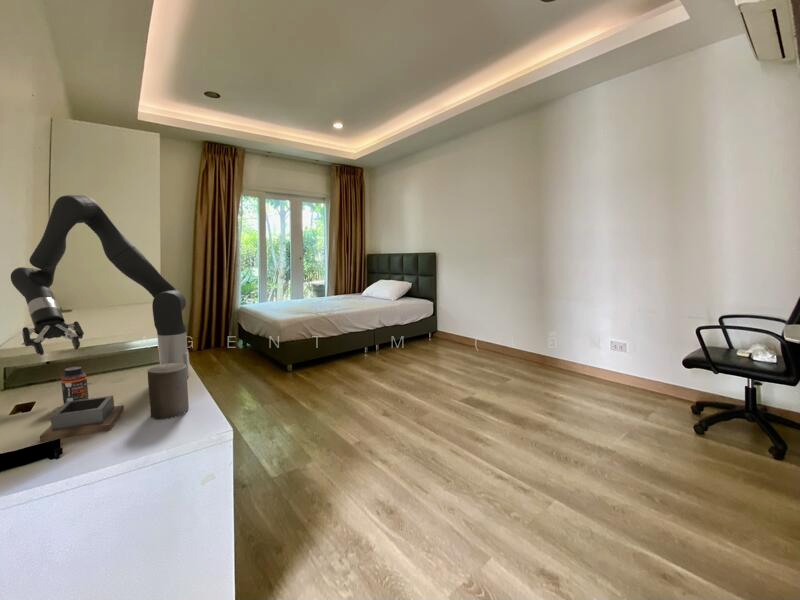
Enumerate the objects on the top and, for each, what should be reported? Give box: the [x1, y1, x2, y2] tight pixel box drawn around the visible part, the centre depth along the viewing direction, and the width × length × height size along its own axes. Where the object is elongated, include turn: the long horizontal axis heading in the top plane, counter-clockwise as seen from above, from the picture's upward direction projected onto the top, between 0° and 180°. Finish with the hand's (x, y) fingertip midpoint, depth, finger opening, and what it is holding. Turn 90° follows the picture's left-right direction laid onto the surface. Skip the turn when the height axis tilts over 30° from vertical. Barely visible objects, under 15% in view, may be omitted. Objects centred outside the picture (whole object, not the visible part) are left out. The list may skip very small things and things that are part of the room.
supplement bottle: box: [60, 366, 90, 405], centre depth 112 cm, size 6×6×11 cm
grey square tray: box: [50, 395, 115, 431], centre depth 98 cm, size 10×10×4 cm
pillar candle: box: [147, 363, 190, 420], centre depth 105 cm, size 10×10×15 cm
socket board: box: [39, 405, 125, 442], centre depth 98 cm, size 14×14×2 cm
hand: (60, 350), depth 117 cm, fingers open, 8 cm apart
